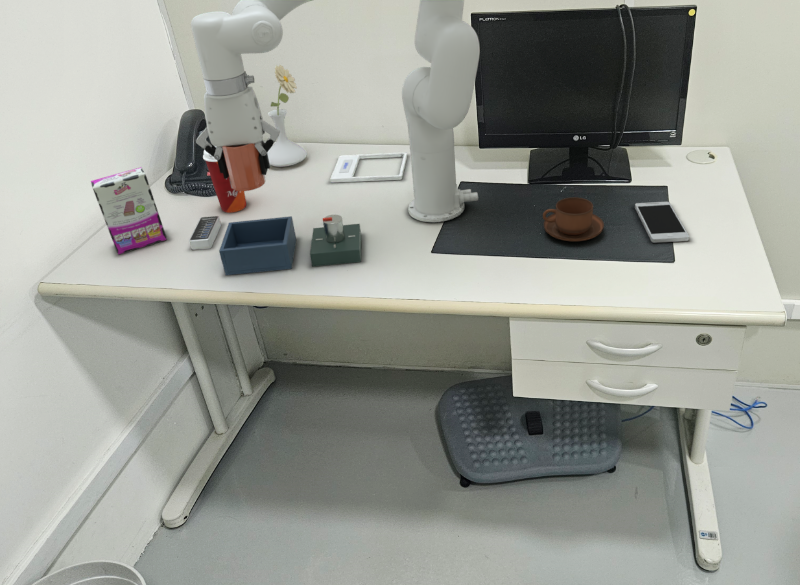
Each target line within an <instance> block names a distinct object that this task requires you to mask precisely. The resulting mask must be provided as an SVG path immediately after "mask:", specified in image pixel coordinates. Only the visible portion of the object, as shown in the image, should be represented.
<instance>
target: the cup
mask: <svg viewBox="0 0 800 585" xmlns="http://www.w3.org/2000/svg"><path fill="white" fill-rule="evenodd" d="M222 149H223V156H224V160H225V164H226V168H227V172H228V176H229V181H230V184H231V187H232V189H234V190H236V191H244V192H249V191H253V190H256V189H259V188H261V187H263V186H264V185H265V184H266V175H263V174H262V172H261V167H260V162H259V151H258V150H257V149H256V147H255V145H254V144H253V143H251V144H247V145H237V146H222Z"/></svg>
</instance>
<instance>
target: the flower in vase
mask: <svg viewBox="0 0 800 585" xmlns="http://www.w3.org/2000/svg"><path fill="white" fill-rule="evenodd" d="M274 70H275V71H274V74H275V79H276V81H277V83H279V88H278V94H277V102H274V101H271V103H270V107H277V108H276V109H273V110H270V111H268V113H267V116H268V117H270V119H271V120H272V121H273V123H274V128H276V129H278V130H279V131H280V134H279V136H278V138H277V139H276V141H275V142H274V144H273V146H272V147H271V148H270V150H269V151H268V152H267V154H268V159H269V164H270V166H272V167H283V168H284V167H291V166H295V165H297V164H298V163H301V162H303V161H304V160H305V159H306V157H307V155H308V152H307V150H306V148H304V147H303V146H301V145H300V144H299V143H296V142H295V141H293V140H291V139H289V137H288V136H287V132H286V127H285V119H286V115H287V113H288V110H287V109H285V108H280V105H281V103H280V101H281V102H282V103H283V104H286V103H288V101H289V100H290V99H289V98H290V97H289V96H288V93H289V94H294V93H296V90H295V89H298V87H297V84H296V82H295V81H296V79H295V77H293V76H292V73H290V70H289V69H288V68H286V69H285V68H284V66H283V65H282V64H279V65H277V64H276V65H275V67H274ZM282 89H283V90H284V91H285V92H286V93H283V92H281V90H282Z"/></svg>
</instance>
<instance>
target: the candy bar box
mask: <svg viewBox="0 0 800 585" xmlns="http://www.w3.org/2000/svg"><path fill="white" fill-rule="evenodd" d="M90 184H91V187H92V190H93V194H94V196H95V199H96V201H97V203H98V206H99V209H100V211H101V214H102V217H103V219H104V222H105V225H106V228H107V230H108V233H109V235H110V238H111V241H112V243H113V246H114V249H115V251H116V254H117V255H123V254H125V253H129V252H132V251H136V250H139V249H142V248H145V247H148V246H151V245H154V244H158V243H162V242H164V241H167V240H168V238H167V234H166V232H165V229H164V228H165V227H164V225H163V223H162V220H161V217H160V214H159V210H158V207H157V205H156V201H155V198H154V195H153V192H152V190H151V186H150V183H149V179H148V177H147V174H146V173H145V171H144V169H143V167H142V166H140V167H137V168H133V169H129V170H126V171H122V172H118V173H115V174H110V175H107V176H104V177H100V178H97V179H94V180H93V179H92V180H90Z"/></svg>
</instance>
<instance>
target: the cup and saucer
mask: <svg viewBox="0 0 800 585" xmlns="http://www.w3.org/2000/svg"><path fill="white" fill-rule="evenodd" d="M549 213H552V214H550V215H548V216H547V214H549ZM542 220H544V221H543V228H544V231H545V232H546V233H547V234H549V235H550V236H551V237H553V238H555V239H556V240H560V241H564V242H574V243H575V242H584V241H589V240H592V239H594V238H596V237H598V236H599V235H600V234H601V233H602V232H603V230H604V227H605V223H604V221H603V219H602V218H600V217H599V216H598V215H596V214H594V204H593V202H592V201H591V200H588V199H587V198H583V197H565V198H562V199H560V200H558V201H557V202H556V204H555V209H554V208H548V209H546V210H545V211H544V212H543V213H542Z"/></svg>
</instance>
